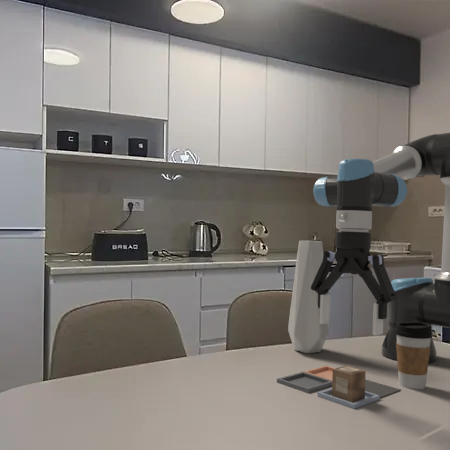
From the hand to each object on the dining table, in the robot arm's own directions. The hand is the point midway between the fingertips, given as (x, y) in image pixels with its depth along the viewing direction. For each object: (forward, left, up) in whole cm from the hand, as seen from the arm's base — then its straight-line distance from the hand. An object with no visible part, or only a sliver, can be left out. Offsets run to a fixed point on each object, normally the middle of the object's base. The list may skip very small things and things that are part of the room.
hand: (349, 328), depth 110 cm
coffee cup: (-20, +4, -16) cm, 26 cm away
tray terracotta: (-10, -12, -15) cm, 22 cm away
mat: (-10, 0, -15) cm, 18 cm away
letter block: (0, 0, -15) cm, 15 cm away
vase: (-26, -33, -16) cm, 45 cm away
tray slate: (0, 0, -15) cm, 15 cm away
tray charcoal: (0, -12, -15) cm, 20 cm away
